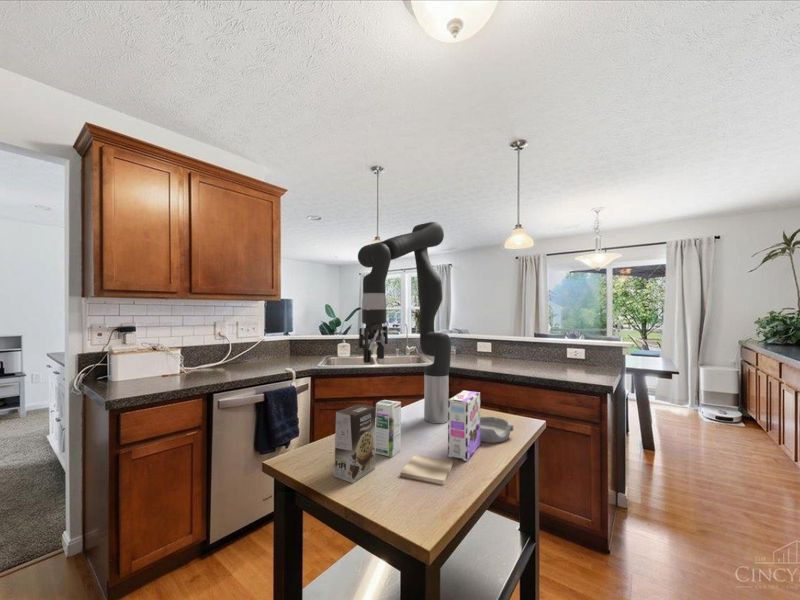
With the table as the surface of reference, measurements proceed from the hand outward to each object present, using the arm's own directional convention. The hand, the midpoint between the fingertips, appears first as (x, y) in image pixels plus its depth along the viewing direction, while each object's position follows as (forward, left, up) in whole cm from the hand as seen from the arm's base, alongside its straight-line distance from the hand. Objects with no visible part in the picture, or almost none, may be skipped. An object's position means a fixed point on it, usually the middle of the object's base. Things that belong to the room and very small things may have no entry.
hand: (374, 360), depth 103 cm
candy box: (-7, +27, -26) cm, 38 cm away
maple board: (+9, +20, -26) cm, 34 cm away
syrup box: (+2, +6, -26) cm, 27 cm away
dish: (-22, +32, -26) cm, 47 cm away
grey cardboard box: (+17, +3, -26) cm, 31 cm away
